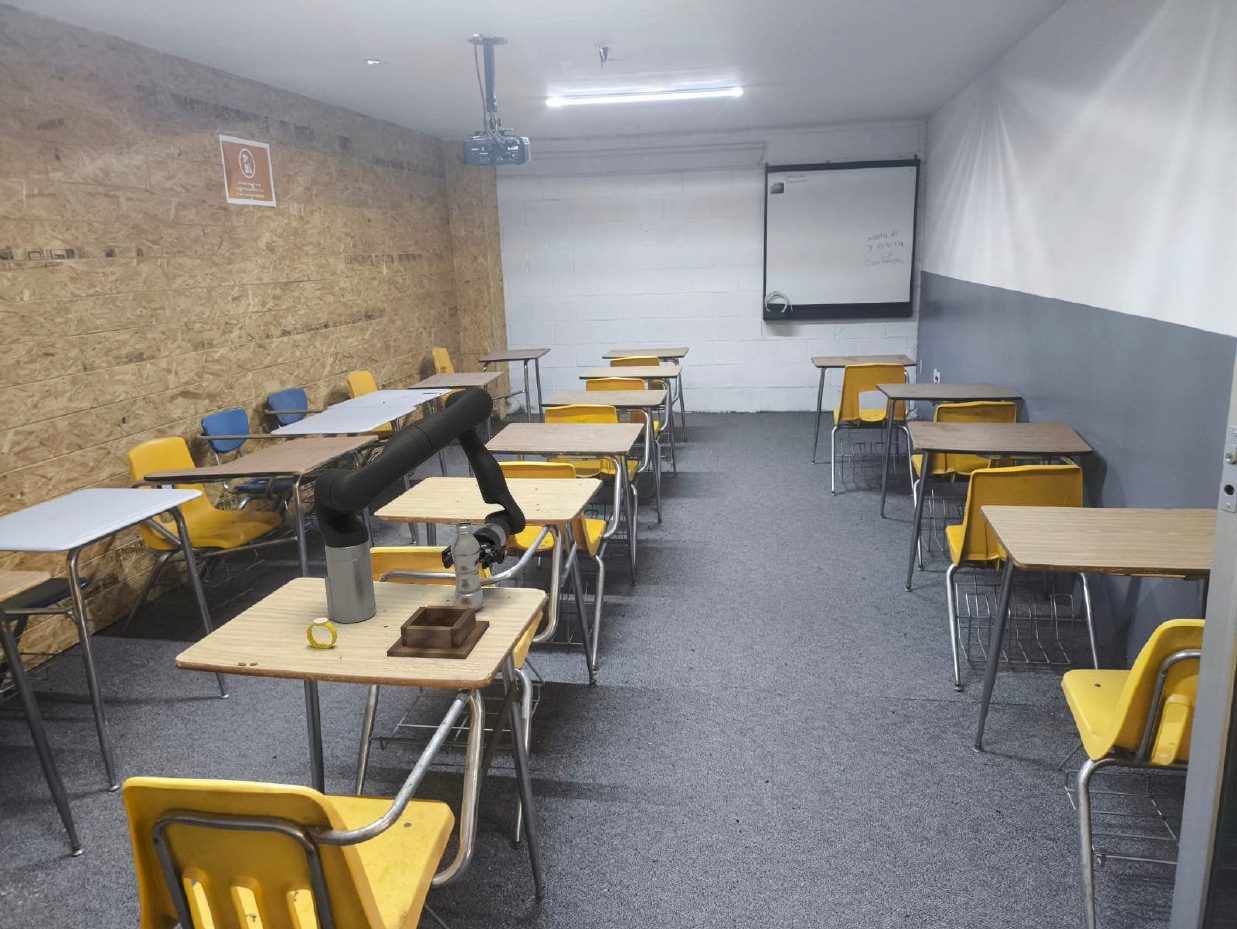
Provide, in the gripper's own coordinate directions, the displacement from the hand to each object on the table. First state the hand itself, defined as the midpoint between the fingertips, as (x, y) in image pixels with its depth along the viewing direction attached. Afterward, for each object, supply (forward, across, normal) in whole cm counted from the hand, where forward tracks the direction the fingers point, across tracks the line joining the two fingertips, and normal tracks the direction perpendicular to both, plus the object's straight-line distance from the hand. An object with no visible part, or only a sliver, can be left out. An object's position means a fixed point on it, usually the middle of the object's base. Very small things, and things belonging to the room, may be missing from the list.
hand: (464, 564), depth 174 cm
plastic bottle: (-1, 0, +11) cm, 11 cm away
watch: (+20, -24, +11) cm, 33 cm away
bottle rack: (+15, -1, +11) cm, 18 cm away
